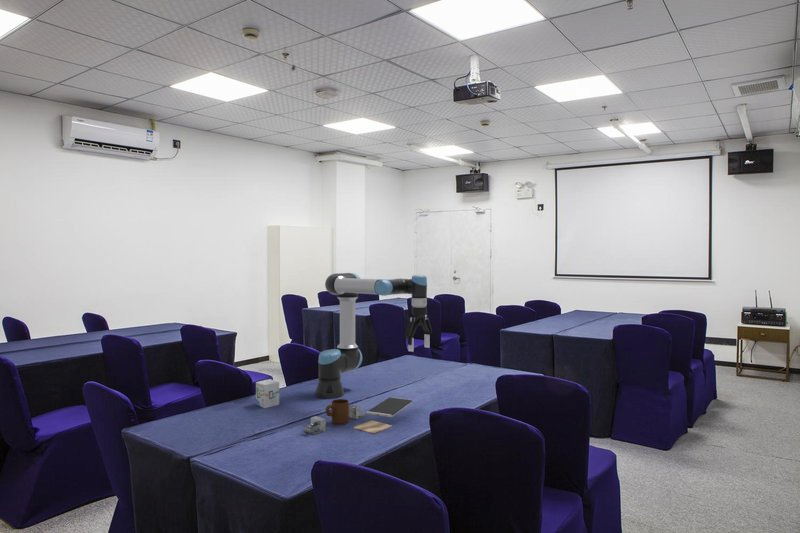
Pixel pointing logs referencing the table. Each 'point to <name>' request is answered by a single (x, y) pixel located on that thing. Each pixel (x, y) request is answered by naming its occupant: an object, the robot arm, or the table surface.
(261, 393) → the ink box
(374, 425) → the coaster
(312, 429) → the grey angular pieces
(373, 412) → the smartphone
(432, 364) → the table surface
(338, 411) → the mug
